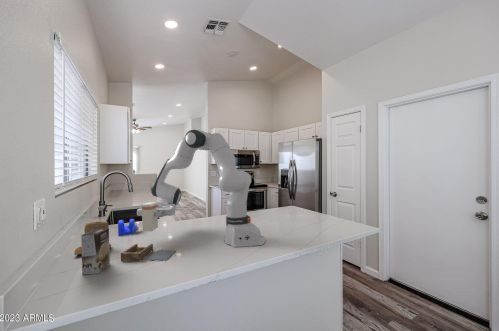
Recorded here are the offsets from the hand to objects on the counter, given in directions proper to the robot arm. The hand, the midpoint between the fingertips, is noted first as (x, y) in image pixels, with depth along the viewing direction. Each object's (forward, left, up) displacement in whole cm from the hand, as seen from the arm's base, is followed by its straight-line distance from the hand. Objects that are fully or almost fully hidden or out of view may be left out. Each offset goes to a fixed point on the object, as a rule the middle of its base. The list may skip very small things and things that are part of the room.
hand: (149, 214), depth 121 cm
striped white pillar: (0, -1, -8) cm, 8 cm away
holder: (0, +12, -17) cm, 21 cm away
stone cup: (+27, +6, -17) cm, 33 cm away
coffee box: (+10, +26, -17) cm, 33 cm away
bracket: (+29, -28, -17) cm, 44 cm away
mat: (-12, +12, -17) cm, 24 cm away
